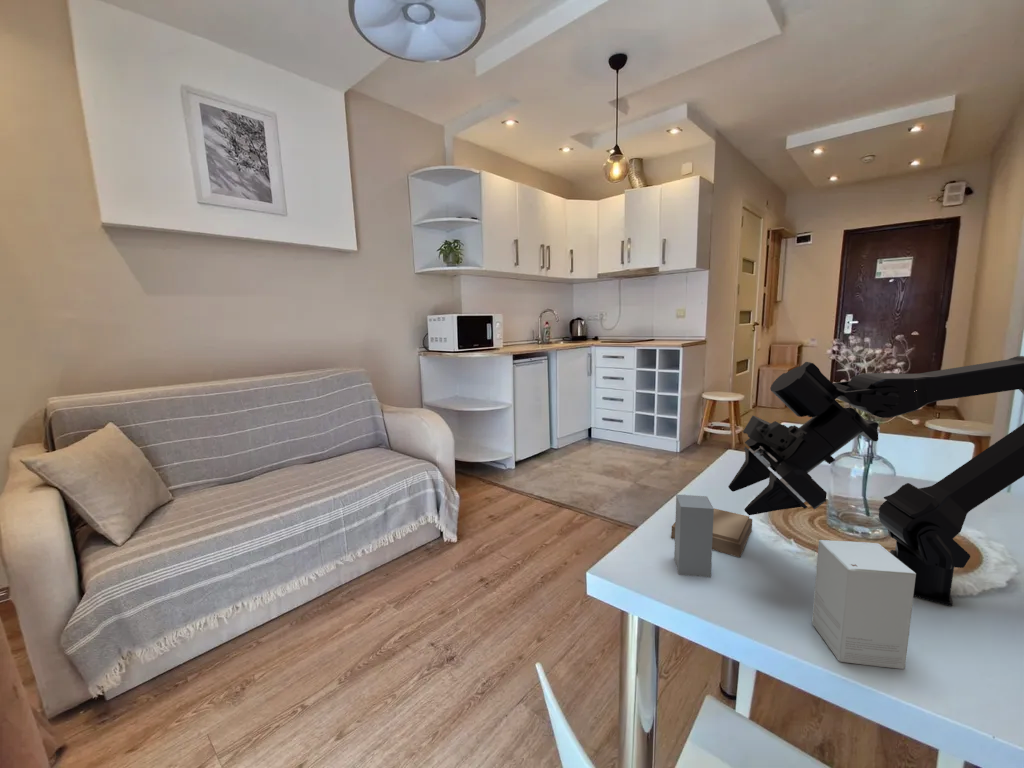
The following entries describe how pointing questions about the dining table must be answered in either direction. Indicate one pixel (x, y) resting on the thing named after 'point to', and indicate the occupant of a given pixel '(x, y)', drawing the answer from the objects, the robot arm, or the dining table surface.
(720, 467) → the dining table surface
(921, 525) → the robot arm
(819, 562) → the supplement box
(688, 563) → the block
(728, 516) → the walnut stand
